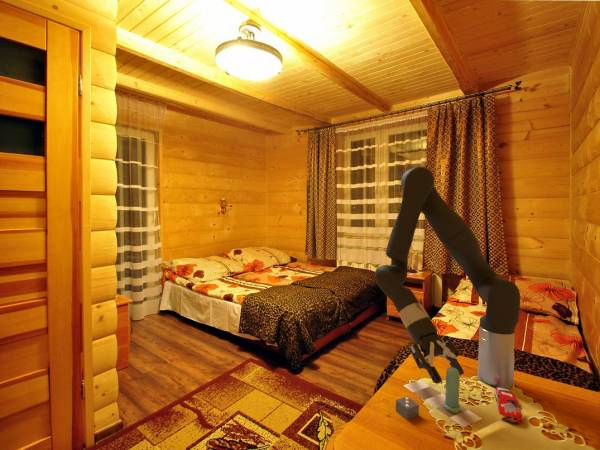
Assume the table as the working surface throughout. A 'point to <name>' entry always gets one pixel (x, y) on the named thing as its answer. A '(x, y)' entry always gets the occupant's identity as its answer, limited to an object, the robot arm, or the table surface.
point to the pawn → (452, 391)
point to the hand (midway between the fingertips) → (450, 378)
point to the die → (407, 408)
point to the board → (441, 403)
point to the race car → (508, 406)
